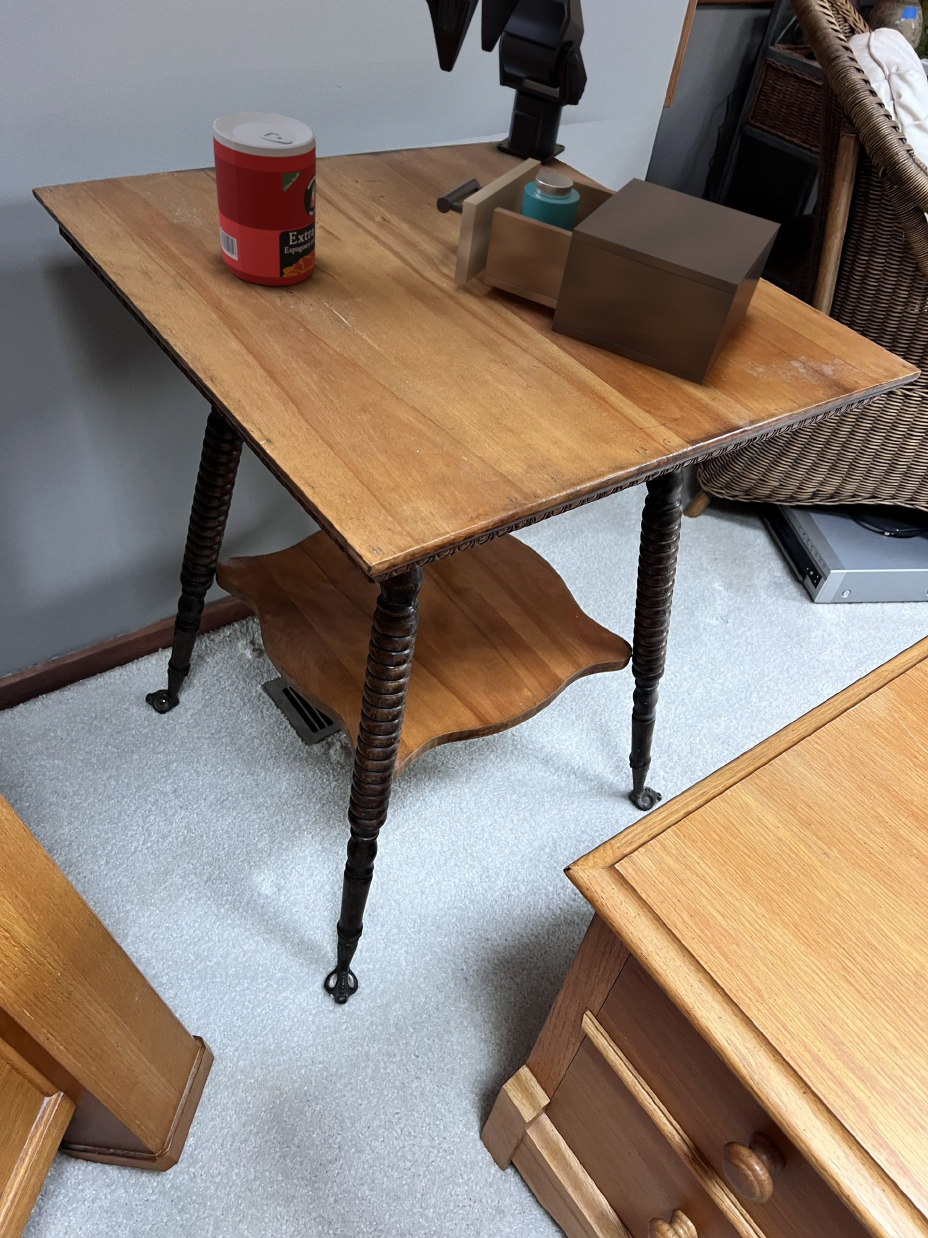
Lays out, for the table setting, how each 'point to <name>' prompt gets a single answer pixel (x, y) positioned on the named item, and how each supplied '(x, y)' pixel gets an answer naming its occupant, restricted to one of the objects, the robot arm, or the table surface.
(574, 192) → the teal bottle
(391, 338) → the table surface
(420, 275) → the table surface
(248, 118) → the canned food
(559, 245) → the drawer
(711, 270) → the cabinet
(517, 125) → the robot arm
